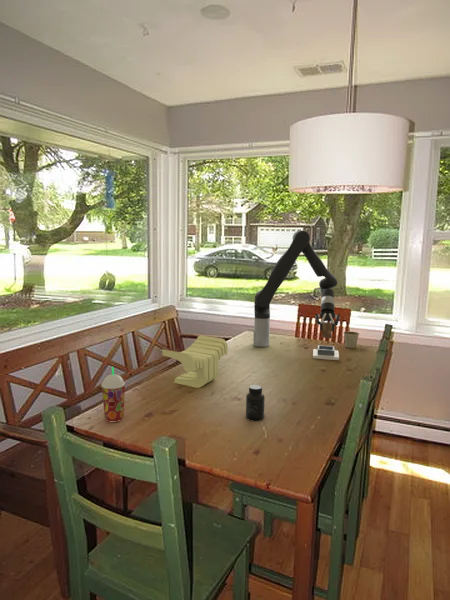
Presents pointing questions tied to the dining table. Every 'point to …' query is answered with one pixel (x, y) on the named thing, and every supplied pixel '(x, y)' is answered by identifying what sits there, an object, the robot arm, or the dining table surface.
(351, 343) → the flower pot
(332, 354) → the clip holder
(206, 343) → the slatted curved stool
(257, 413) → the supplement bottle
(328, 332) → the walnut block
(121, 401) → the smoothie
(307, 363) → the dining table surface
